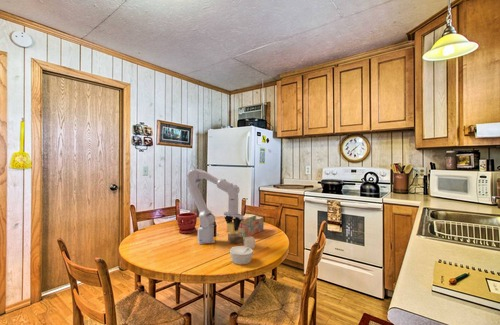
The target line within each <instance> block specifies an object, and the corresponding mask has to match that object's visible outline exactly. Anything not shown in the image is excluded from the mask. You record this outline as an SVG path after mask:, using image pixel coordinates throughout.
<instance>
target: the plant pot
mask: <svg viewBox="0 0 500 325" xmlns="http://www.w3.org/2000/svg"><path fill="white" fill-rule="evenodd" d="M197 221H198V214H197V213H196V212H181V213H178V214H177V215H176V223H177V227H178V232H179V233H181V234H191V233H194V232H195V231H196V230H197V227H196V226H197V223H198V222H197Z"/></svg>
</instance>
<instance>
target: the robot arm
mask: <svg viewBox="0 0 500 325" xmlns="http://www.w3.org/2000/svg"><path fill="white" fill-rule="evenodd" d="M186 177H187V188H188V190H189V192H190V194H191V196H192V199H193V201H194V203H195V206H196V209H197V210H198V213H199V215H198V219H199V224H200V226H199V227H197V242H198V244H199V245H202V244H203V245H204V244H215V243H216V241H215V239H214V236H215V234H214V232H215V227H214V224H215V222H216V217H215V215H214V214H213V212H212V211H211V210H210V209H209V208H208V207H207V206H208V205H207V204H206V202H205V199H204V198H203V195H202V192H201V190H200V188H199V184H200V181H201V180H203V179H204V180H206V181H208V182H210V183H213V184H215V185H216V187H217V189H219V190H222V191H223V192H225V193H227V195H228V203H227V204H228V206H227V207H228V208H227V209H228V211H224V212H223V216H224V220H225V222H226V224H227V223H231V222H234V229H235V231H237V230H238V228H239V225H240V222H241V220H242V219H243V216H244V215H242V214H239V193H240V187H239V186H237V184H233V183H231V182H228V181H227V179H225V178H224V179H223V178H221V179H219V178H218V177H215V176H214V175H212V174H211V173H209V172H208V171H205V170H204V169H201V168H197V169H190V170H189V171H188V173H187V176H186Z"/></svg>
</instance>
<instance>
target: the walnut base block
mask: <svg viewBox="0 0 500 325" xmlns="http://www.w3.org/2000/svg"><path fill="white" fill-rule="evenodd" d="M227 241H228V243H229V244H230V245H238V244H244V237H243V236H242V234H241V233H238V232H237V233H234V234H232V233H228V234H227Z"/></svg>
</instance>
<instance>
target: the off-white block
mask: <svg viewBox="0 0 500 325" xmlns="http://www.w3.org/2000/svg"><path fill="white" fill-rule="evenodd" d="M243 246H245V247H249V248H251V249H255V248H256V238H254V237H253V235H251V236H248V237H243Z"/></svg>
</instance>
